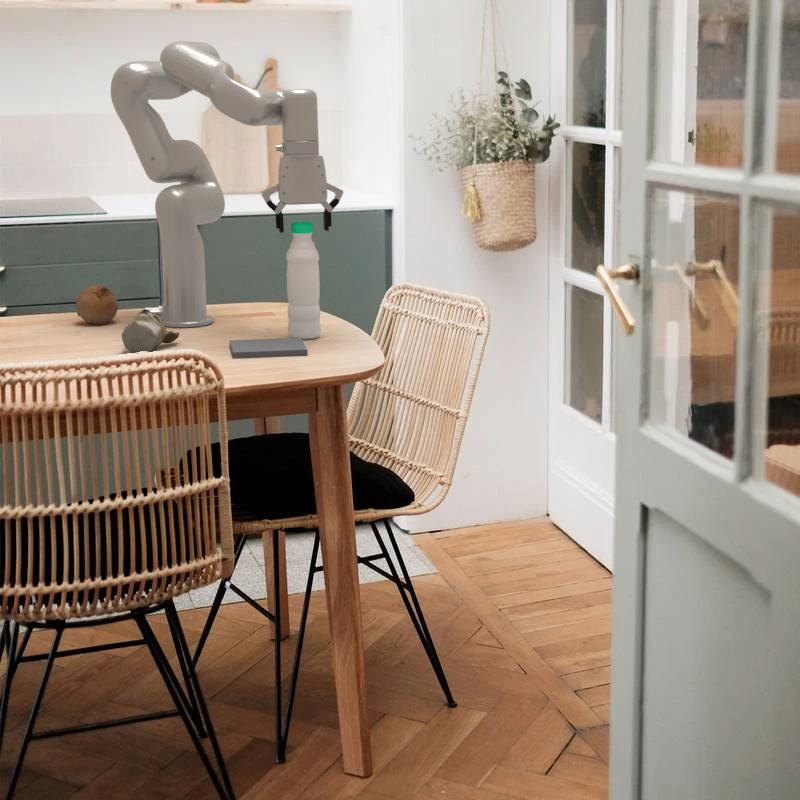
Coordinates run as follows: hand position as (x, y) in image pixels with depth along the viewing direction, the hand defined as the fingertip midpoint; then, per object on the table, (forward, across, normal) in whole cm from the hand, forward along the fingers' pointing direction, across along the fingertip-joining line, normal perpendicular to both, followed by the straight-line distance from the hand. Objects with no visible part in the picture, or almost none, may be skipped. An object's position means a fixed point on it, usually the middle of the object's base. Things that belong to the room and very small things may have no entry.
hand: (304, 231), depth 274 cm
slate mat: (+23, -10, -12) cm, 28 cm away
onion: (+22, -46, +27) cm, 57 cm away
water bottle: (+23, -1, +1) cm, 23 cm away
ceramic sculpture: (+23, -34, -5) cm, 42 cm away
